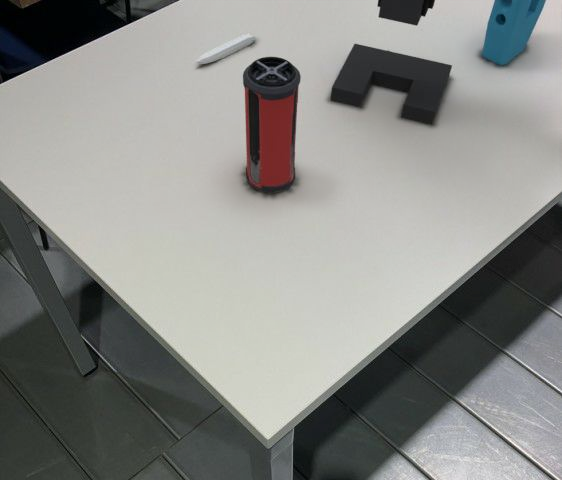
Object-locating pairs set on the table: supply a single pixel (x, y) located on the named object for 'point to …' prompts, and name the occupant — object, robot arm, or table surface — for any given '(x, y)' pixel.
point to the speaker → (271, 122)
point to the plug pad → (401, 10)
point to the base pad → (392, 80)
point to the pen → (226, 49)
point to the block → (510, 28)
